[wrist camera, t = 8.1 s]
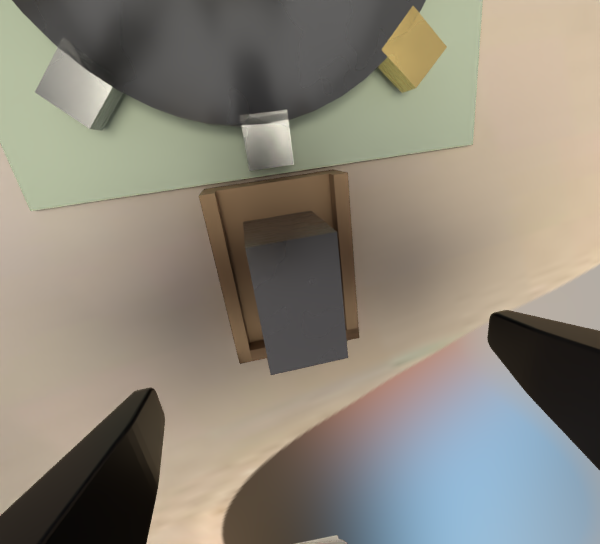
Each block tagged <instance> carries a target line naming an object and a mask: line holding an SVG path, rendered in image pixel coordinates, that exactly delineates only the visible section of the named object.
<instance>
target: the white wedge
mask: <svg viewBox="0 0 600 544" xmlns="http://www.w3.org/2000/svg"><path fill="white" fill-rule="evenodd" d="M296 544H348V543H347V542H345V541H344V540H341V539H338V536H337V535H335V536H330V537H325V538H321V539H315V540H310V541H306V542H301V543H296Z"/></svg>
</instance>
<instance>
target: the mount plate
mask: <svg viewBox="0 0 600 544" xmlns="http://www.w3.org/2000/svg"><path fill="white" fill-rule="evenodd" d="M482 3H483V0H426V1H425V3H424V5H423V7H422V9H421V11H420V12H419V13H420V14H421V16H422V17H423V18H424V19H425V20H426V22H427V23H428V24H429V25H430V27H431V28H432V29H433V30H434V32H435V33H436V34H437V35H438V36H439V38H440V39H441V40H442V41H443V43H444V44H445V45H446V46H447V48H446V49H445V51H444V52H443V53H442V55H441V56H440V57H439V59H438V60H437V61H436V63H435V64H434V65H433V67H432V68H431V69H430V71H429V72H428V73H427V75H426V76H425V77H424V78H423V80H422V81H421V82H420V84H419V85H418V86H417V88H415V89H412V90H409V91H407V92H404V93H401V91H400V90H399V89H398V88H397V87H396V86H395V85H394V84H393V83H392V82H391V81H390V80H389V79H388V78H387V77H386V75H385V74H384V73H383V72H382V71H381V70H380V69H379V68H378V67H377V68H376V69H375V70H374V71H373V72H372V73H371V74H370V75H369V76H368V77H367V78H366V79H365V80H363V81H362V82H361V83H359V84H358V85H356V86H355V87H354V88H352V89H351V90H350V91H348V92H347V93H346V94H344V95H343V96H341V97H340V98H338V99H336V100H334V101H332V102H330V103H328V104H327V105H325V106H323V107H321V108H319V109H317V110H315V111H313V112H311V113H309V114H306V115H303V116H300V117H298V118H295V119H292V120H289V128H290V136H291V144H292V151H293V159H294V165H288V166H281V167H274V168H267V169H261V170H254V171H249V168H248V163H247V157H246V152H245V146H244V140H243V135H242V129H241V128H235V127H223V126H211V125H207V124H202V123H198V122H193V121H188V120H184V119H181V118H178V117H176V116H173V115H170V114H167V113H164V112H162V111H159V110H156V109H154V108H152V107H150V106H148V105H146V104H144V103H142V102H140V101H138V100H136V99H134V98H132V97H130V96H128V95H126V94H123V96H122V97H121V99H120V101H119V103H118V104H117V106H116V108H115V110H114V111H113V113H112V115H111V117H110V119H109V120H108V122H107V124H106V126H105V127H104V129H103V131H101V130H94V129H89V128H87V127H86V126H84V125H83V124H81V123H80V122H78V121H77V120H75V119H74V118H72V117H71V116H69V115H68V114H66V113H65V112H63V111H62V110H60V109H59V108H57V107H56V106H54V105H53V104H51V103H50V102H49V101H47V100H46V99H44V98H43V97H41V96H40V95H38V94H37V93H35V91H36V89H37V87H38V85H39V83H40V81H41V79H42V77H43V75H44V73H45V71H46V69H47V67H48V65H49V63H50V61H51V59H52V57H53V55H54V53H55V52H56V50H57V48H58V47H57V46H56V45H55V44H54V43H53V42H52V41H51V40H50V39H49V38H48V37H47V36H46V35H44V34H43V33H42V32H41V31H40V30H39V29H38V28H37V27H36V26H35V25H34V24H33V23H32V22H31V21H30V20H29V19H28V18H27V17H26V16H25V15H24V14H23V13H22V12H21V11H20V9H19V8H18V7H17V6H16V5H15V3H14V2H13V1H12V0H0V143H1V146H2V148H3V150H4V152H5V155H6V157H7V159H8V161H9V164H10V166H11V168H12V170H13V173H14V175H15V177H16V179H17V182H18V184H19V186H20V188H21V191H22V193H23V195H24V197H25V200H26V202H27V204H28V206H29V209H30V211H35V210H42V209H49V208H55V207H62V206H69V205H75V204H82V203H88V202H95V201H102V200H108V199H115V198H122V197H128V196H135V195H142V194H148V193H155V192H162V191H168V190H175V189H182V188H188V187H195V186H202V185H208V184H215V183H221V182H228V181H235V180H241V179H248V178H255V177H261V176H268V175H275V174H281V173H288V172H295V171H301V170H308V169H315V168H321V167H328V166H334V165H341V164H348V163H354V162H361V161H368V160H374V159H381V158H388V157H394V156H401V155H408V154H414V153H421V152H428V151H434V150H441V149H447V148H454V147H461V146H467V145H473V135H474V120H475V105H476V91H477V76H478V61H479V47H480V32H481V18H482Z"/></svg>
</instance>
